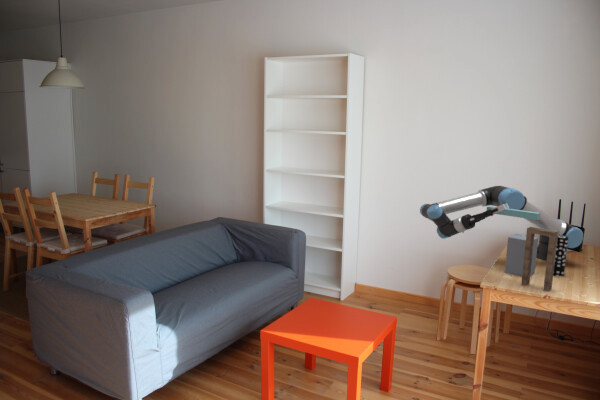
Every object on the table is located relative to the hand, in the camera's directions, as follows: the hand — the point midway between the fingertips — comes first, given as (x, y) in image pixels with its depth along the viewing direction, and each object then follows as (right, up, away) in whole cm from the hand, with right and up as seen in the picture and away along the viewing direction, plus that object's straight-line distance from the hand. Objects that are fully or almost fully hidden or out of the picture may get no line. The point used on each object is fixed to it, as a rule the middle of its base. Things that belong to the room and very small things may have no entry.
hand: (506, 206), depth 228 cm
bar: (+2, -5, -2) cm, 5 cm away
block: (+14, -35, +16) cm, 41 cm away
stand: (+12, -38, -6) cm, 41 cm away
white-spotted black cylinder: (+32, -36, +16) cm, 51 cm away
